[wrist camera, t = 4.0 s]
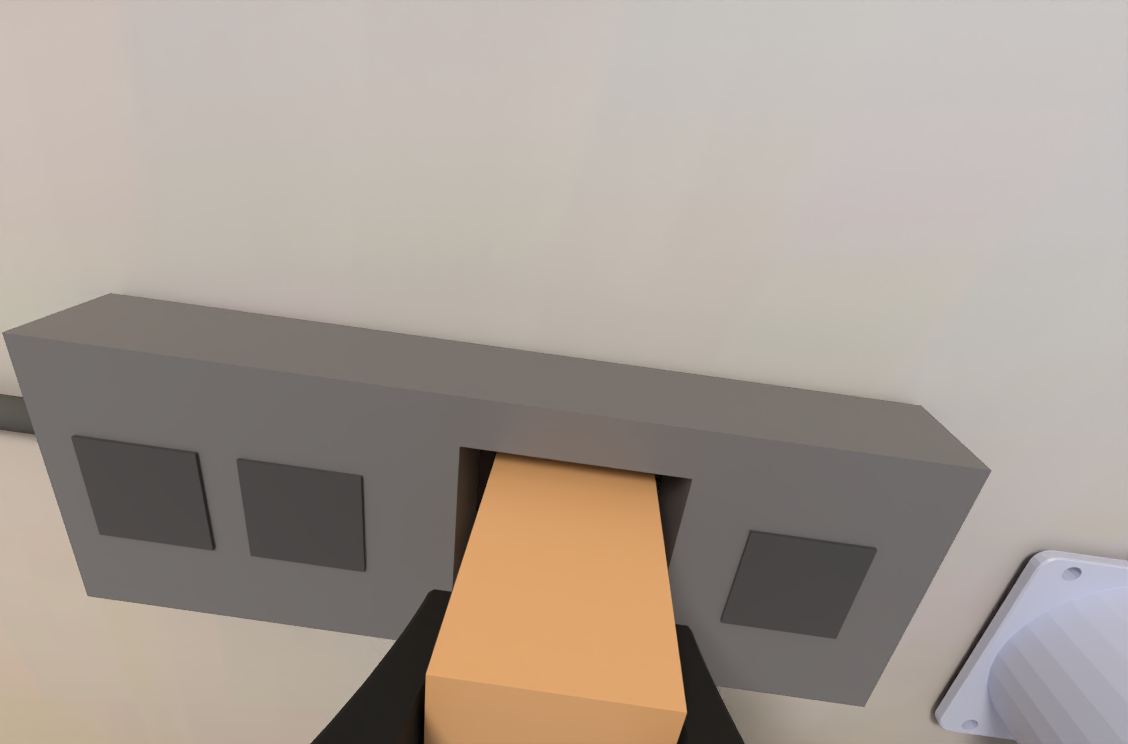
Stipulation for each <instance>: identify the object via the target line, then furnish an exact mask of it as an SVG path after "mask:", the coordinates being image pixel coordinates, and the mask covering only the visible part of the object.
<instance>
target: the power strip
mask: <svg viewBox="0 0 1128 744" xmlns="http://www.w3.org/2000/svg"><path fill="white" fill-rule="evenodd" d="M2 333H3V336H4V340H5V343H6V346H7V349H8V352H9V355H10V358H11V361H12V364H13V367H14V370H15V373H16V377H17V380H18V383H19V386H20V389H21V392H22V395H23V397H17V396H10V395H3V394H0V429H1V430H8V431H15V432H22V433H29V434H35V435H36V438H37V441H38V444H39V447H40V451H41V454H42V457H43V460H44V463H45V466H46V469H47V472H48V475H49V478H50V481H51V484H52V487H53V491H54V494H55V497H56V500H57V503H58V506H59V509H60V512H61V515H62V518H63V521H64V524H65V528H66V531H67V534H68V537H69V540H70V543H71V546H72V549H73V552H74V555H75V558H76V561H77V565H78V568H79V571H80V574H81V577H82V580H83V583H84V586H85V589H86V592H87V595H88V596H91V597H98V598H105V599H112V600H119V601H126V602H133V603H140V604H147V605H154V606H161V607H168V608H175V609H182V610H189V611H196V612H203V613H210V614H217V615H224V616H231V617H238V618H245V619H252V620H259V621H266V622H273V623H280V624H287V625H294V626H301V627H308V628H315V629H322V630H329V631H336V632H343V633H350V634H357V635H364V636H371V637H378V638H385V639H392V640H397V639H398V638H399V636H400V635H401V634H402V632H403V631H404V630H405V628H406V627H407V625H408V624H409V622H410V621H411V619H412V618H413V616H414V615H415V613H416V612H417V610H418V609H419V607H420V606H421V604H422V602H423V601H424V599H425V597H426V596H427V594H428V592H430V591H432V590H433V589H437V590H444V591H451V592H452V591H453V588H454V585H455V582H456V579H457V576H458V573H459V569H460V566H461V563H462V560H463V557H464V554H465V551H466V548H467V545H468V541H469V538H470V535H471V532H472V529H473V526H474V523H475V520H476V506H477V492H478V478H479V463H480V449H482V450H489V451H496V452H503V453H510V454H517V455H525V456H532V457H539V458H546V459H553V460H560V461H567V462H575V463H582V464H589V465H596V466H603V467H610V468H617V469H625V470H632V471H639V472H646V473H653V474H660V475H663V476H662V481H661V485H660V489H659V493H658V503H659V510H660V518H661V525H662V532H663V540H664V547H665V554H666V562H667V569H668V576H669V584H670V591H671V598H672V606H673V613H674V620H675V624H680V625H687V626H688V627H689V628H690V629H691V630H692V633H693V635H694V638H695V640H696V643H697V645H698V647H699V650H700V652H701V654H702V657H703V659H704V661H705V664H706V666H707V668H708V670H709V673H710V675H711V677H712V679H713V681H714V683H715V685H716V686H721V687H728V688H735V689H742V690H749V691H756V692H763V693H770V694H777V695H784V696H791V697H798V698H805V699H812V700H819V701H826V702H833V703H840V704H847V705H854V706H861V707H864V706H865V705H866V703H867V701H868V699H869V697H870V695H871V693H872V692H873V690H874V688H875V686H876V684H877V682H878V680H879V679H880V677H881V675H882V673H883V671H884V669H885V667H886V666H887V664H888V662H889V660H890V658H891V656H892V654H893V653H894V651H895V649H896V647H897V645H898V643H899V641H900V640H901V638H902V636H903V634H904V632H905V630H906V628H907V627H908V625H909V623H910V621H911V619H912V617H913V615H914V613H915V612H916V610H917V608H918V606H919V604H920V602H921V600H922V599H923V597H924V595H925V593H926V591H927V589H928V587H929V586H930V584H931V582H932V580H933V578H934V576H935V574H936V573H937V571H938V569H939V567H940V565H941V563H942V561H943V560H944V558H945V556H946V554H947V552H948V550H949V548H950V547H951V545H952V543H953V541H954V539H955V537H956V535H957V534H958V532H959V530H960V528H961V526H962V524H963V522H964V521H965V519H966V517H967V515H968V513H969V511H970V509H971V507H972V506H973V504H974V502H975V500H976V498H977V496H978V494H979V493H980V491H981V489H982V487H983V485H984V483H985V481H986V480H987V478H988V476H989V474H990V472H991V470H990V469H989V468H988V467H987V466H986V465H985V464H984V463H983V462H982V461H981V460H980V459H978V458H977V457H976V456H975V455H974V454H973V453H972V452H971V451H970V450H969V449H968V448H967V447H965V446H964V445H963V444H962V443H961V442H960V441H959V440H958V439H957V438H956V437H955V436H953V435H952V434H951V433H950V432H949V431H948V430H947V429H946V428H945V427H944V426H943V425H942V424H940V423H939V422H938V421H937V420H936V419H935V418H934V417H933V416H932V415H931V414H930V413H928V412H927V411H926V410H925V409H924V408H923V407H922V406H920V405H912V404H905V403H898V402H891V401H884V400H876V399H869V398H862V397H855V396H847V395H840V394H833V393H826V392H819V391H811V390H804V389H797V388H790V387H783V386H775V385H768V384H761V383H754V382H746V381H739V380H732V379H725V378H718V377H710V376H703V375H696V374H689V373H682V372H674V371H667V370H660V369H653V368H646V367H638V366H631V365H624V364H617V363H609V362H602V361H595V360H588V359H581V358H573V357H566V356H559V355H552V354H545V353H537V352H530V351H523V350H516V349H508V348H501V347H494V346H487V345H480V344H472V343H465V342H458V341H451V340H444V339H436V338H429V337H422V336H415V335H408V334H400V333H393V332H386V331H379V330H371V329H364V328H357V327H350V326H343V325H335V324H328V323H321V322H314V321H307V320H299V319H292V318H285V317H278V316H271V315H263V314H256V313H249V312H242V311H234V310H227V309H220V308H213V307H206V306H198V305H191V304H184V303H177V302H170V301H162V300H155V299H148V298H141V297H133V296H126V295H119V294H112V293H110V294H107V295H104V296H101V297H99V298H96V299H93V300H90V301H88V302H85V303H82V304H79V305H77V306H74V307H71V308H68V309H66V310H63V311H60V312H57V313H55V314H52V315H49V316H46V317H44V318H41V319H38V320H35V321H33V322H30V323H27V324H24V325H22V326H19V327H16V328H13V329H11V330H8V331H5V332H2Z"/></svg>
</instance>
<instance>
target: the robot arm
mask: <svg viewBox="0 0 1128 744" xmlns="http://www.w3.org/2000/svg"><path fill="white" fill-rule="evenodd" d="M451 594H452V592H451V591H444V590H437V589H433V590H432V591H430V592H428V594H427V596H426V597H425V599H424V601H423V602H422V604H421V606H420V607H419V609H418V610H417V612H416V613H415V615H414V616H413V618H412V619H411V621H410V622H409V624H408V625H407V627H406V628H405V630H404V631H403V632H402V634H401V635H400V636H399V638H398V639H397V641H396V642H395V643H394V645H393V646H392V647H391V649H390V650H389V651H388V653H387V654H386V655H385V657H384V658H383V659H382V660H381V662H380V663H379V664H378V666H377V667H376V668H375V669H374V671H373V672H372V673H371V675H370V676H369V677H368V678H367V680H366V681H365V682H364V683H363V685H362V686H361V687H360V688H359V689H358V690H357V692H356V693H355V694H354V695H353V696H352V697H351V699H350V700H349V701H348V702H347V703H346V704H345V706H344V707H343V708H342V709H341V710H340V711H339V713H338V714H337V715H336V716H335V717H334V718H333V720H332V721H331V722H330V723H329V724H328V725H327V726H326V727H325V729H324V730H323V731H322V732H321V733H320V734H319V735H318V736H317V737H316V738H315V739H314V740H313V742H312V743H311V744H424V722H425V684H426V672H427V669H428V666H429V663H430V660H431V657H432V654H433V650H434V647H435V644H436V641H437V638H438V635H439V632H440V629H441V626H442V622H443V619H444V616H445V613H446V610H447V607H448V604H449V601H450V597H451ZM675 628H676V635H677V642H678V650H679V657H680V664H681V672H682V679H683V686H684V694H685V701H686V708H687V714H686V717H685V720H684V723H683V726H682V729H681V732H680V735H679V738H678V741H677V744H745V743H744V741H743V739H742V737H741V735H740V734H739V732H738V730H737V728H736V726H735V724H734V722H733V720H732V718H731V716H730V714H729V712H728V710H727V708H726V706H725V704H724V702H723V700H722V698H721V696H720V694H719V692H718V690H717V688H716V685H715V683H714V681H713V679H712V677H711V675H710V673H709V670H708V668H707V666H706V664H705V661H704V659H703V657H702V654H701V652H700V650H699V647H698V645H697V643H696V640H695V638H694V635H693V633H692V630H691V629H690V628H689V627H688V626H687V625H680V624H675ZM935 717H936V719H937V721H938V723H939V725H940V726H941V727H942V728H943V729H945V730H948V731H954V732H961V733H968V734H975V735H982V736H989V737H996V738H1003V739H1010V740H1016V741H1017V743H1018V744H1128V561H1127V560H1120V559H1113V558H1106V557H1099V556H1092V555H1084V554H1077V553H1070V552H1063V551H1056V550H1046V551H1042V552H1039V553H1037V554H1036V555H1034V556H1033V557H1032V558H1031V559H1030V560H1029V562H1028V564H1027V565H1026V567H1025V569H1024V570H1023V572H1022V573H1021V575H1020V577H1019V578H1018V580H1017V581H1016V583H1015V585H1014V586H1013V588H1012V589H1011V591H1010V593H1009V594H1008V596H1007V597H1006V599H1005V601H1004V602H1003V604H1002V605H1001V607H1000V609H999V610H998V612H997V613H996V615H995V617H994V618H993V620H992V621H991V623H990V625H989V626H988V628H987V629H986V631H985V633H984V634H983V636H982V637H981V639H980V641H979V642H978V644H977V645H976V647H975V649H974V650H973V652H972V653H971V655H970V657H969V658H968V660H967V661H966V663H965V665H964V666H963V668H962V670H961V671H960V673H959V674H958V676H957V678H956V679H955V681H954V682H953V684H952V686H951V687H950V689H949V690H948V692H947V694H946V695H945V697H944V698H943V700H942V702H941V703H940V705H939V706H938V708H937V710H936V712H935Z"/></svg>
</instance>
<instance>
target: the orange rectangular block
mask: <svg viewBox="0 0 1128 744" xmlns="http://www.w3.org/2000/svg"><path fill="white" fill-rule="evenodd" d="M686 714H687V708H686V701H685V694H684V686H683V679H682V672H681V664H680V657H679V650H678V642H677V635H676V628H675V620H674V613H673V606H672V598H671V591H670V584H669V576H668V569H667V562H666V554H665V547H664V540H663V532H662V525H661V518H660V510H659V503H658V496H657V488H656V481H655V474H653V473H646V472H639V471H632V470H625V469H617V468H610V467H603V466H596V465H589V464H582V463H575V462H567V461H560V460H553V459H546V458H539V457H532V456H525V455H517V454H510V453H503V452H497V454H496V457H495V460H494V464H493V467H492V470H491V473H490V476H489V479H488V482H487V485H486V488H485V492H484V495H483V498H482V501H481V504H480V507H479V510H478V513H477V516H476V520H475V523H474V526H473V529H472V532H471V535H470V538H469V541H468V545H467V548H466V551H465V554H464V557H463V560H462V563H461V566H460V569H459V573H458V576H457V579H456V582H455V585H454V588H453V591H452V594H451V597H450V601H449V604H448V607H447V610H446V613H445V616H444V619H443V622H442V626H441V629H440V632H439V635H438V638H437V641H436V644H435V647H434V650H433V654H432V657H431V660H430V663H429V666H428V669H427V672H426V684H425V722H424V744H677V741H678V738H679V735H680V732H681V729H682V726H683V723H684V720H685V717H686Z"/></svg>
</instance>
